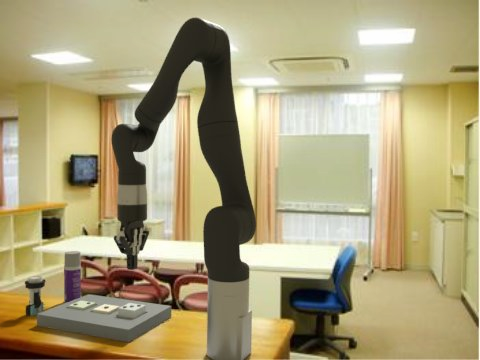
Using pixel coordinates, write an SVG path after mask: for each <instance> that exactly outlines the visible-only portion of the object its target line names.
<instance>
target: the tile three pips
mask: <svg viewBox="0 0 480 360" xmlns="http://www.w3.org/2000/svg"><path fill="white" fill-rule="evenodd" d="M143 314H145V305H141V304H134V303H128V304H126V305H124V306H122V307H119V308H118V316H120V317H126V318H132V319H136V318H138V317H140V316H142V315H143Z"/></svg>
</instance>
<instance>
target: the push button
mask: <svg viewBox="0 0 480 360" xmlns="http://www.w3.org/2000/svg"><path fill="white" fill-rule="evenodd" d="M24 285H25V289H28V290H29V299H28V305H25V316H28V315H29V317H35V316H37V314H38V313H41V312H44V309H45V308H46V306H44V305H46V303H44V302H43V301H42V298H41V297H42V296H41V295H42V292H41V289H43V288H44V287H45V285H46V279H43V276H40V275H39V276H38V275H37V276H36V275H35V276H30V277H28V278H27V280H25V281H24Z"/></svg>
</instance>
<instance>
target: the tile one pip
mask: <svg viewBox="0 0 480 360" xmlns="http://www.w3.org/2000/svg"><path fill="white" fill-rule="evenodd" d="M119 307H120V306H114V305H108V304H104V305H101V306H99V307H97V308H94V309H93V312H94V313H101V314H107V315H109V314H111V313H114V312H116V311H118V308H119Z"/></svg>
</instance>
